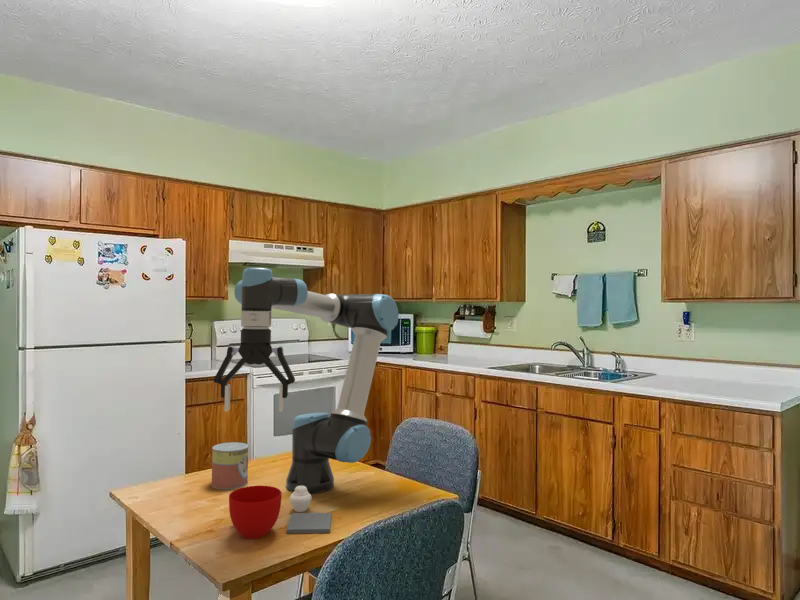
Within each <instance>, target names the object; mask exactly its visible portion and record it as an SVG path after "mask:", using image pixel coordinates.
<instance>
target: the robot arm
mask: <svg viewBox="0 0 800 600" xmlns="http://www.w3.org/2000/svg"><path fill="white" fill-rule="evenodd" d="M241 277H242V278H241V280H239V281H238V282H237V283H236V284H235V287H234V290H233V291H234V297H235V299H236V301H237V302H238V303H239V304H241V310H240V311H241V312H240V313H241V315H240V317H241V318H240V326H241V327H242V329H241V330H240V344H239V345H240V346H239V347H235V346H234V345H231V346H228V347H227V350H226V355H225V357H224V359H223V362H222V363H221V365H220V367H219V369H218V370H217V373H216V374H215V376H214V378H213V382H214V383H216V384H219V386H220V398H223V399H224V412H229V411H230V409H231V384H228V383H229V382H230V381H231V379H232V378H234V376H235V375H236V374H237V372H239V370H241V368H242V367H243V366H244V365H245V364H247V365H255V364H256V365H263V364H265V366H266V367H267V368H268V369H269V371H270V372H272V374H273V375H274V376H275V377H276V378H277V379H278V381H279V382H280V385H279V388H278V389H279V393H278V412H279V413H281V412H283V410H284V399H287V398H288V395H289V385H291V384H293V383H295V382H296V378H295V376H294V373H293V372H292V370H291V367H290V366H289V363H288V361H287V359H286V357H285V354H284V348H283V346H279V347H272V345H271V344H272V342H271V341H272V330H271V329H270V328H271V327H272V309H275V310H280V311H286V312H290V313H295V314H301V315H306V316H311V317H317V318H320V319H321V320H322V321H323V322H326V323H330V324H331V323H332V324H335V325H338V326H342V327H345V328H350V329H351V330H352V332H353V334H354V340H353V343H352V348H351V352H350V356H349V360H348V364H347V368H346V371H345V375H344V380H343V383H342V387H341V391H340V397H339V401H338V404H337V408H336V409H334V410H332V411H331V413H329V412H313V413H312V412H311V413H305V414H300V415H299V414H298V415H297V416H295V417H294V419H293V422H292V423H293V424H292V435H291V436H292V447H291V449H292V450H291V451H292V454H291V455H292V459H291V465H290V467H289V470H288V473H287V476H286V480H285V481H286V482H285V483H286V485H285V487H286V490H288V491H289V492H290V491H291V492H292V493H293V492H294V491H295V490H294V489H295V488H296V487H297V486H305V487H306V488H307V491H308V493H310V494H316V493H323V492H326V491H329V490H330V489H332V488H333V487H334V485H335V482H334V481H335V480H334V479H335V478H334V474H333V471H332V467H331V464H330V460H335V461H338V462H341V463H350V464H353V463H357V462H359V461H360V460H361V459H362V458H364V457H365V456H366V454H367V453H368V452H369V449H370V446H371V442H372V435H371V430H370V428H369V427H368V426H367V424H368V420H367V418H366V416H365V412H366V408H367V403H368V399H369V395H370V390H371V387H372V381H373V377H374V373H375V369H376V364H377V359H378V356H379V351H380V348H381V347H380V346H381V343H382V341H384V340H386V339H387V337H388V332H389V331H393V330H394V329H395V328H396V327H397V325H398V323H399V309H398V305H397V303H396V301H395V300H394V299H393V297H392V296H390V295H389V294H384V293H383V294H382V293H381V294H380V293H372V294H371V293H365V294H364V293H362V294H359V293H352V294H351V293H350V294H336V293H326V294H322V293H319V292H313V291H310V290H308V286H307V284H306V283H305V281H303V280H302V279H298V278H294V277H274V275H273V271H272V269H271V268H264V267H247V268H245V269H243V270H242V275H241ZM237 353H238V354H239V355H240V357H241V358H240V359H239V361H238V362H237V363H236V365H234V366H233V368H232V369H231V370H230V371H229V372H228V373H227V374H226V375H225V377H224V378H223V376H224V374H225V372H226V371H227V368H228V366H229V364H230V362H231V361H232V359H233V357H234V356H236V354H237ZM273 353H274V356H276V357H277V358H278V360H279V362H280V365H281V367H282V369H283V371H284V372H285V375H286V377H287V378H286V377H285V375H284V374H283V373H282V372H281V371H280V370H279V369H278V367H277V366H276V365H275V363H274V362H273V360H272V359H271V358H270V356H272V354H273Z"/></svg>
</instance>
